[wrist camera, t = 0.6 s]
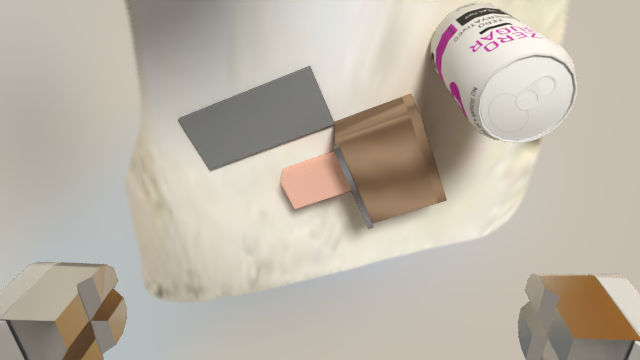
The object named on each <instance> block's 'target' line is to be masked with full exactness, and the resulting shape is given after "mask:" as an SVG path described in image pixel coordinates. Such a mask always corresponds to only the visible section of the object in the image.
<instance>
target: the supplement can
mask: <svg viewBox="0 0 640 360" xmlns="http://www.w3.org/2000/svg"><path fill="white" fill-rule="evenodd" d="M430 57H431V60H432V63H433V66H434V69H435V70H436V72H437V73H438V75H439V76H440V78H441V79H442V81H443V82H444V84H445V85H446V87H447V88H448V90H449V91H450V93H451V94H452V96H453V98H454V99H455V101H456V102H457V104H458V105H459V107H460V108H461V110H462V111H463V113H464V114H465V116H466V117H467V119H468V120H469V122H470V123H471V124H472V125H473V126H474V127H475V128H476V130H477V131H478V132H479V133H481V134H483V135H485V136H487V137H489V138H492V139H494V140H501V141H504V142H512V143H523V142H527V141H532V140H536V139H538V138H540V137H542V136H544V135H546V134H547V133H549V132H551V131H552V130H554V128H556V127H557V126H558V125H559V124H560V123H561V122H562V121H563V120H564V119H565V118H566V116H567V115H568V113H569V112H570V110H571V108H572V107H573V105H574V102H575V97H576V93H577V83H576V75H575V68H574V62H573V61H572V59H571V58H570V57H569V55H568V54H567V52H566V51H565V50H564V49H563V48H562V47H560V46H559V45H557V44H556V43H554V42H552V41H551V40H549V39H548V38H546V37H544V36H543V35H541V34H540V33H538V32H536V31H535V30H533V29H532V28H530V27H528V26H527V25H525V24H524V23H522V22H520V21H519V20H517V19H516V18H514V17H512V16H511V15H509V14H508V13H506V12H504V11H503V10H501V9H499V8H497V7H495V6H494V5H492V4H488V3H477V2H475V3H471V4H468V5H464V6H461V7H459V8H457V9H456V10H454V11H453V12H451V13H450V14H448V15H447V16H446V17H445V18H444V20H443V21H442V22H441V23H440V24H439V26H438V27H437V28H436V31H435V33H434V36H433V38H432V41H431V53H430Z"/></svg>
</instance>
